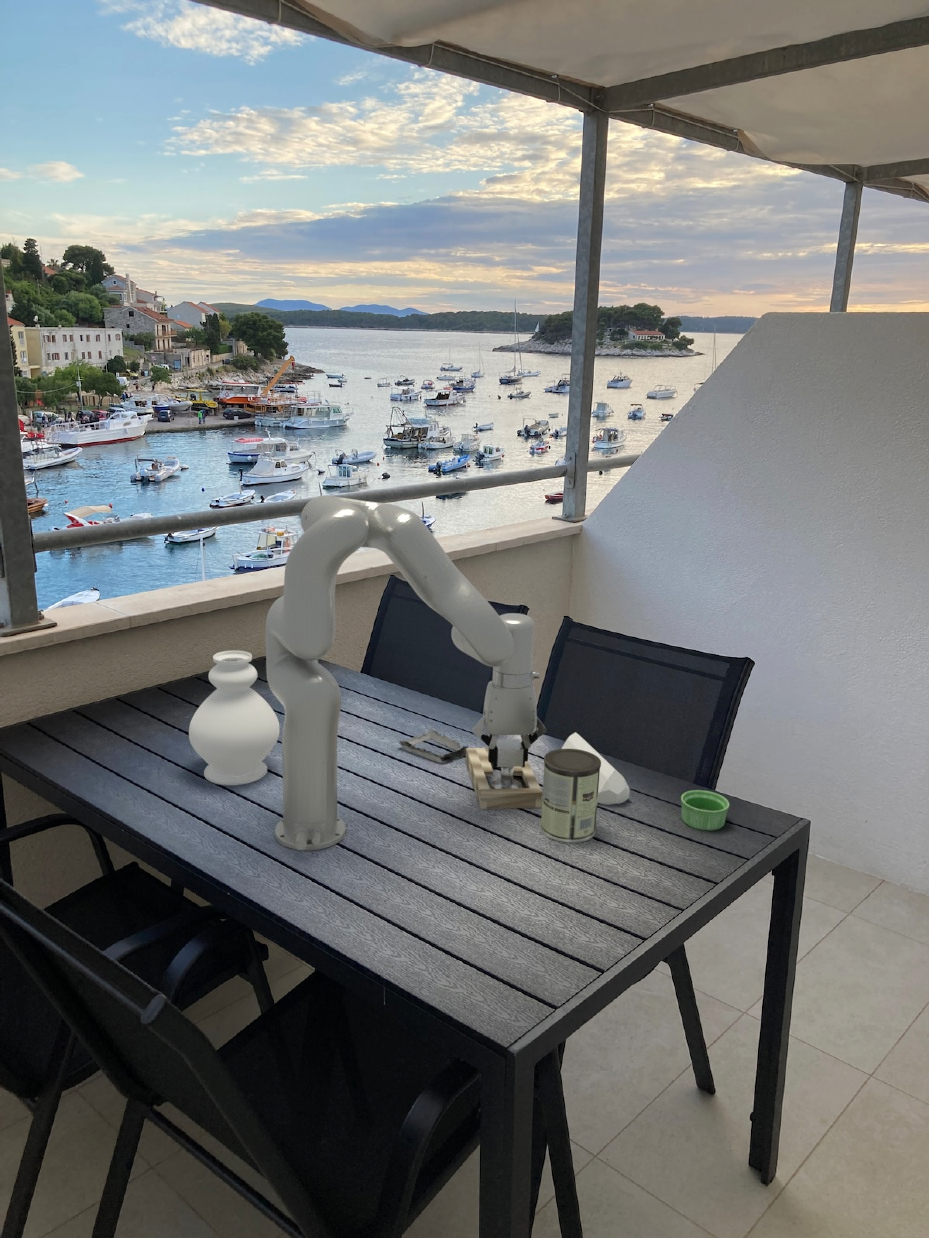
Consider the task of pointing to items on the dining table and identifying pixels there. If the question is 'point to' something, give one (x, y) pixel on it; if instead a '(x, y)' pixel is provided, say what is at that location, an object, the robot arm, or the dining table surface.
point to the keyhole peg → (508, 763)
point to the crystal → (603, 774)
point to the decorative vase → (234, 723)
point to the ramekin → (704, 809)
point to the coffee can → (570, 795)
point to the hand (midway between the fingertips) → (507, 763)
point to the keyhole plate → (501, 797)
